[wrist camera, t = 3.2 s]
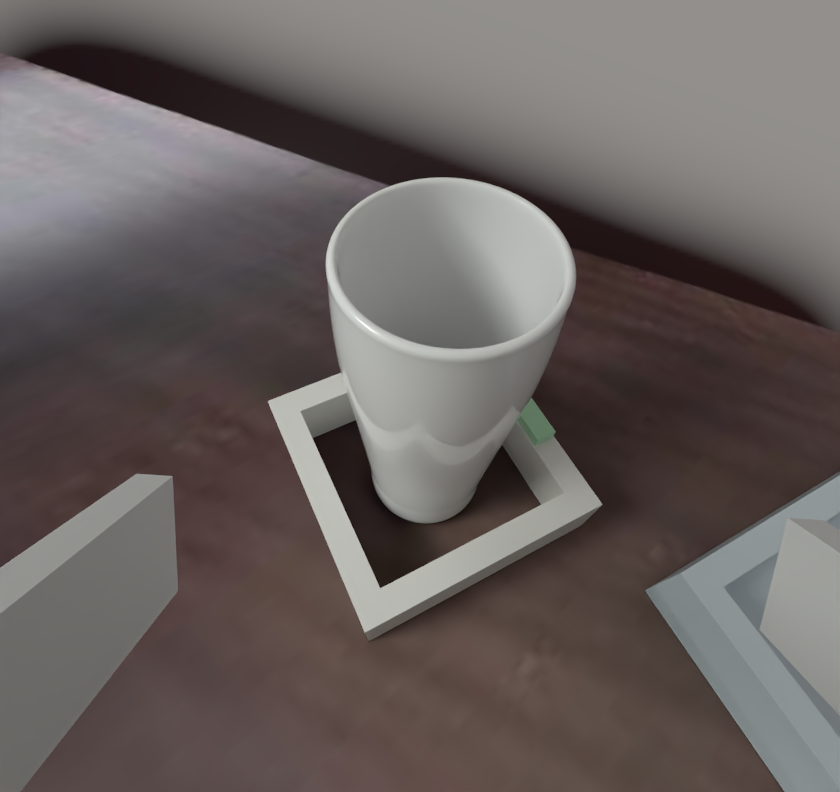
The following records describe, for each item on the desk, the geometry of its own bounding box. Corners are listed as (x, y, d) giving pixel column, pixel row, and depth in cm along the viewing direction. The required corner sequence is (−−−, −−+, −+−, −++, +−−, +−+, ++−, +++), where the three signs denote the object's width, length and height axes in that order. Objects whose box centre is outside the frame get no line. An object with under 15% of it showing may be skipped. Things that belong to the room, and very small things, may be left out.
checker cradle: (279, 430, 27) (265, 394, 24) (466, 354, 30) (473, 314, 27) (368, 641, 22) (364, 630, 19) (581, 525, 25) (607, 499, 22)
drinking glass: (455, 568, 24) (523, 407, 11) (332, 501, 25) (267, 289, 13) (511, 452, 27) (614, 223, 14) (399, 398, 29) (401, 146, 16)
